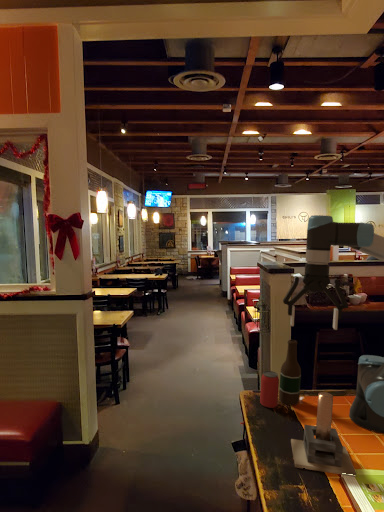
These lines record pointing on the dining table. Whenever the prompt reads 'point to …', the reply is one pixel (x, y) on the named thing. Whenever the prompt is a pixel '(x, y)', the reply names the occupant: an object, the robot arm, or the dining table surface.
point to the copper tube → (324, 418)
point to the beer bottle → (290, 376)
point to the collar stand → (330, 463)
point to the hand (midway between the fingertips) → (313, 327)
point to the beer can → (269, 389)
